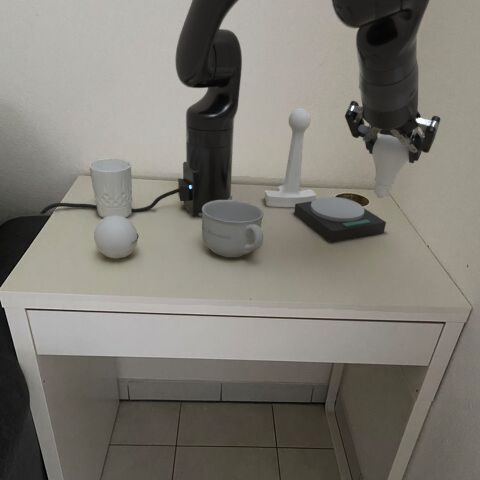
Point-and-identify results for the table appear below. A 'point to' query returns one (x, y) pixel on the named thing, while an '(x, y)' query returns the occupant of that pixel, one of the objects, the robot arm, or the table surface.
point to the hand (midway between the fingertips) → (393, 153)
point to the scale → (339, 218)
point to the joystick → (293, 166)
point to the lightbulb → (388, 162)
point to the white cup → (112, 186)
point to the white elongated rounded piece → (115, 236)
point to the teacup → (232, 227)
